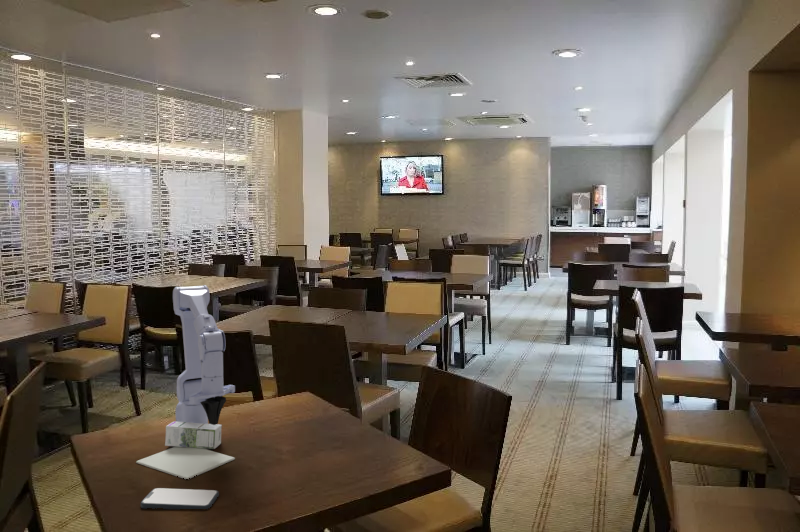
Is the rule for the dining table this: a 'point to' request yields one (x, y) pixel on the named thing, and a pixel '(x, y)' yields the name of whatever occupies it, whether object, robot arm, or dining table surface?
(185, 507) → the phone case
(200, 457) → the mat
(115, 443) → the dining table surface
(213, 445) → the syrup box
